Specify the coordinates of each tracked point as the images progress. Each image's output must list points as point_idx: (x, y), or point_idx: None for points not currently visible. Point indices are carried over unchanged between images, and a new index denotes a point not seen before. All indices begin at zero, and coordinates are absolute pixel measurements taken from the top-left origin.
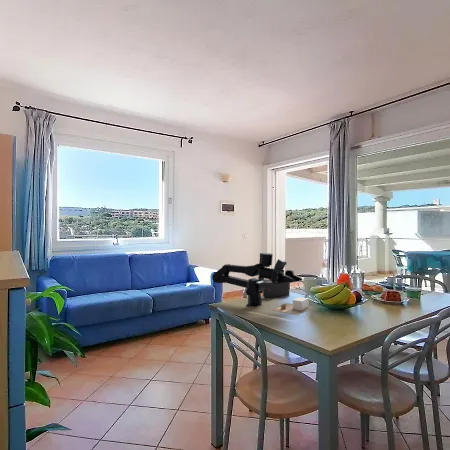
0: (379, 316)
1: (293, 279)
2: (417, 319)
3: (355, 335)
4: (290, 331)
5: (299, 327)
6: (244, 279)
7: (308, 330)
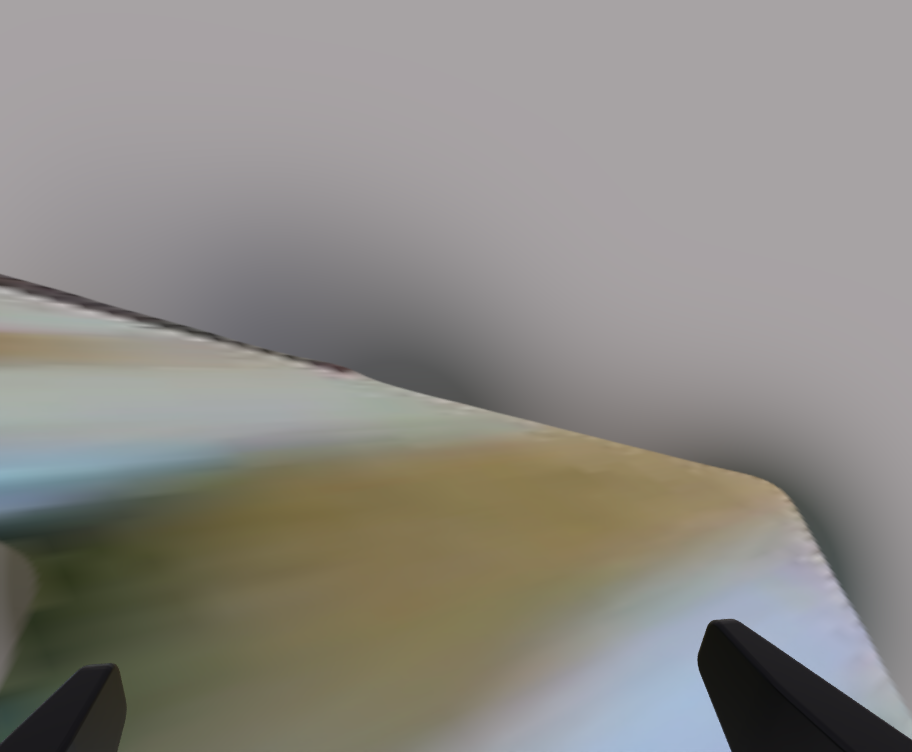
0: (79, 389)
1: (746, 640)
2: (84, 300)
3: (536, 442)
4: None
5: None
6: None
7: None
